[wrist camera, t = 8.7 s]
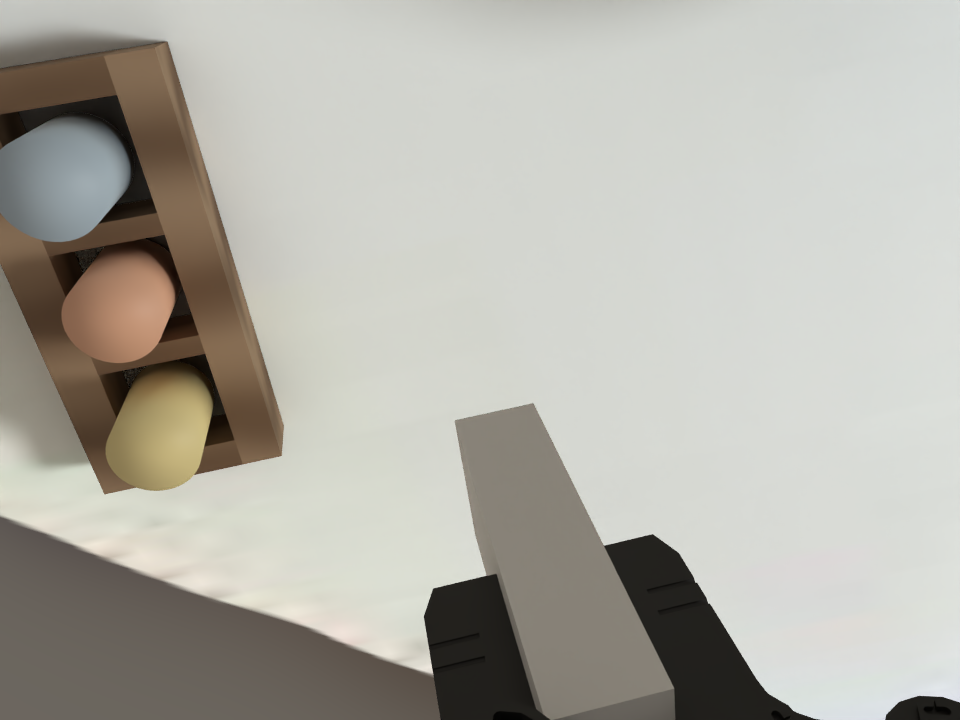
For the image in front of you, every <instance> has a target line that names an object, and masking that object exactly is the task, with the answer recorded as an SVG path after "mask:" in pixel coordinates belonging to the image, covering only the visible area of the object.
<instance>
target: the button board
mask: <svg viewBox="0 0 960 720" xmlns="http://www.w3.org/2000/svg"><path fill="white" fill-rule="evenodd" d="M113 95H117V96H118V99H119V102H120V105H121V108H122V111H123V114H124V117H125V120H126V123H127V126H128V129H129V131H130V134H131V137H132V140H133V143H134V146H135V149H136V152H137V155H138V158H139V161H140V164H141V167H142V170H143V173H144V175H145V178H146V181H147V184H148V187H149V190H150V193H151V196H152V199H146V200H141V201H135V202H130V203H124V204H119V205H114V206H113V207H112V208H111V209H110V210H109V212H108V213H107V214H106V215H105V216H104V217H103V219H102V220H101V221H100V222H99V223H98V224H97V225H96V227H95V228H94V229H93V230H91V231H90V232H89V233H88V234H86V235H84V236H82V237H80V238H78V239H75V240H71V241H65V242H50V241H44V240H40V239H37V238H34V237H31V236H29V235H27V234H25V233H23V232H21V231H20V230H18V229H17V228H15V227H14V226H13V225H11V224H10V223H9V222H8V221H7V220H6V219H5V218H4V217H3V216H2V214H1V213H0V264H1V266H2V268H3V271H4V273H5V275H6V277H7V279H8V282H9V284H10V286H11V288H12V290H13V293H14V295H15V297H16V299H17V302H18V304H19V306H20V308H21V310H22V313H23V315H24V317H25V319H26V321H27V324H28V326H29V328H30V330H31V333H32V335H33V337H34V339H35V341H36V344H37V346H38V348H39V350H40V352H41V355H42V357H43V359H44V361H45V364H46V366H47V368H48V370H49V372H50V375H51V377H52V379H53V381H54V383H55V386H56V388H57V390H58V392H59V395H60V397H61V399H62V401H63V403H64V406H65V408H66V410H67V412H68V414H69V417H70V419H71V421H72V423H73V426H74V428H75V430H76V432H77V434H78V437H79V439H80V441H81V443H82V445H83V448H84V450H85V452H86V454H87V457H88V459H89V461H90V463H91V465H92V468H93V470H94V472H95V474H96V476H97V479H98V481H99V483H100V485H101V488H102V490H103V492H104V494H108V493H113V492H118V491H122V490H127V489H131V488H136V487H134V486H132V485H130V484H128V483H126V482H125V481H123V480H122V479H120V478H119V477H118V476H117V475H116V474H115V473H114V472H113V470H112V469H111V467H110V466H109V464H108V461H107V458H106V443H107V440H108V437H109V435H110V433H111V431H112V428H113V426H114V424H115V422H116V419H117V417H118V415H119V413H120V410H121V408H122V406H123V404H124V401H125V399H126V397H127V395H128V392H129V387H128V385H127V382H126V380H125V377H124V375H123V372H122V371H123V370H128V369H133V368H137V367H142V366H147V365H152V364H157V363H162V362H167V361H172V360H177V359H182V358H187V357H192V356H197V355H202V354H206V357H207V360H208V363H209V366H210V369H211V372H212V375H213V378H214V381H215V384H216V387H217V390H218V393H219V396H220V398H221V401H222V404H223V407H224V410H225V413H226V414H223V415H218V416H213V417H211V420H210V424H209V428H208V432H207V437H206V441H205V445H204V449H203V454H202V458H201V462H200V465H199V468H198V469H197V471H196V473H195V474H194V475H196V474H200V473H205V472H210V471H214V470H219V469H223V468H228V467H233V466H237V465H242V464H246V463H251V462H256V461H260V460H265V459H269V458H274V457H279V456H282V444H283V430H284V425H283V422H282V419H281V415H280V412H279V409H278V405H277V402H276V399H275V396H274V392H273V389H272V386H271V382H270V379H269V376H268V372H267V369H266V366H265V363H264V359H263V356H262V353H261V349H260V346H259V343H258V339H257V336H256V333H255V330H254V326H253V323H252V320H251V316H250V313H249V310H248V306H247V303H246V300H245V296H244V293H243V290H242V287H241V283H240V280H239V277H238V273H237V270H236V267H235V263H234V260H233V257H232V254H231V250H230V247H229V244H228V240H227V237H226V234H225V230H224V227H223V224H222V220H221V217H220V214H219V211H218V207H217V204H216V201H215V197H214V194H213V191H212V187H211V184H210V181H209V178H208V174H207V171H206V168H205V164H204V161H203V158H202V154H201V151H200V148H199V144H198V141H197V138H196V135H195V131H194V128H193V125H192V121H191V118H190V115H189V111H188V108H187V105H186V102H185V98H184V95H183V92H182V88H181V85H180V82H179V78H178V75H177V72H176V68H175V65H174V62H173V59H172V55H171V52H170V49H169V45H168V42H161V43H155V44H149V45H143V46H136V47H130V48H124V49H118V50H112V51H106V52H99V53H93V54H87V55H81V56H75V57H69V58H63V59H56V60H50V61H44V62H38V63H32V64H26V65H19V66H13V67H7V68H1V69H0V150H1V149H2V148H3V147H4V146H5V145H7V144H8V143H10V142H12V141H14V140H15V139H17V138H19V137H21V136H22V135H24V134H26V131H25V128H24V126H23V123H22V121H21V118H20V116H19V113H18V111H24V110H30V109H36V108H42V107H48V106H54V105H59V104H65V103H71V102H77V101H83V100H89V99H95V98H101V97H107V96H113ZM160 235H165V237H166V240H167V243H168V246H169V249H170V252H171V255H172V258H173V261H174V264H175V266H176V269H177V272H178V275H179V278H180V281H181V284H182V287H183V290H184V293H185V296H186V299H187V302H188V305H189V308H190V310H191V313H192V314H188V315H183V316H178V317H173V318H169V320H168V322H167V324H166V327H165V329H164V331H163V334H162V336H161V339H160V340H159V342H158V344H157V345H156V347H155V348H154V349H153V350H152V351H151V352H150V353H148V354H147V355H146V356H144V357H142V358H140V359H138V360H135V361H131V362H126V363H110V362H105V361H101V360H98V359H95V358H93V357H91V356H89V355H87V354H85V353H84V352H82V351H81V350H80V349H79V348H77V347H76V346H75V345H74V344H73V342H72V341H71V340H70V339H69V337H68V336H67V334H66V332H65V330H64V327H63V323H62V315H61V313H62V306H63V303H64V300H65V298H66V296H67V295H68V294H69V292H70V291H71V290H72V288H73V287H74V286H75V284H76V283H77V282H78V280H79V279H80V278H81V276H82V275H83V272H82V270H81V268H80V265H79V263H78V260H77V258H76V255H75V253H74V252H75V251H80V250H85V249H91V248H96V247H101V246H107V245H112V244H118V243H123V242H128V241H134V240H139V239H144V238H150V237H155V236H160Z"/></svg>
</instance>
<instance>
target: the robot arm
mask: <svg viewBox="0 0 960 720" xmlns="http://www.w3.org/2000/svg"><path fill="white" fill-rule="evenodd" d="M455 425H456V430H457V436H458V441H459V447H460V452H461V458H462V463H463V469H464V475H465V480H466V486H467V491H468V497H469V502H470V508H471V513H472V519H473V524H474V530H475V535H476V539H477V542H478V546H479V550H480V553H481V557H482V560H483V564H484V568H485V571H486V575H487V576H484V577H480V578H476V579H472V580H467V581H463V582H459V583H455V584H451V585H446V586H442V587H438V588H434V589H433V591H432V594H431V597H430V600H429V603H428V606H427V609H426V612H425V615H424V620H425V626H426V632H427V638H428V644H429V650H430V657H431V663H432V669H433V674H434V681H435V687H436V694H437V699H438V705H439V711H440V718H441V720H818V719H813V718H810V717H807V716H805V715H802V714H799V713H796V712H794V711H793V710H792V709H791V708H790V707H789V706H788V705H786V704H785V703H783V702H781V701H779V700H778V699H776V698H774V697H772V696H771V695H769V694H768V693H767V692H766V691H765V690H764V688H763V687H762V686H761V685H760V683H759V682H758V681H757V679H756V678H755V676H754V675H753V673H752V671H751V670H750V668H749V666H748V665H747V663H746V662H745V660H744V658H743V657H742V655H741V653H740V652H739V650H738V649H737V647H736V645H735V644H734V642H733V640H732V639H731V637H730V636H729V634H728V632H727V631H726V629H725V627H724V626H723V624H722V623H721V621H720V619H719V618H718V616H717V614H716V613H715V611H714V610H713V608H712V606H711V605H710V604H708V602H707V598H706V597H705V595H704V593H703V592H702V590H701V588H700V587H699V585H698V584H697V583H695V581H694V577H693V575H692V574H691V572H690V571H689V569H688V567H687V566H686V564H685V562H684V561H683V559H682V558H681V556H680V554H679V553H678V552H677V551H675V550H674V549H672V548H671V547H670V546H668V545H667V544H665V543H664V542H663V541H661V540H660V539H659V538H657V537H656V536H654V535H653V534H652V535H648V536H644V537H639V538H635V539H631V540H627V541H623V542H618V543H614V544H610V545H606V546H604V545H603V543H602V541H601V539H600V537H599V535H598V533H597V531H596V529H595V527H594V525H593V523H592V521H591V519H590V517H589V515H588V513H587V511H586V509H585V507H584V505H583V503H582V501H581V499H580V497H579V495H578V493H577V491H576V489H575V487H574V485H573V483H572V480H571V478H570V476H569V474H568V472H567V470H566V468H565V466H564V464H563V462H562V460H561V458H560V456H559V454H558V452H557V450H556V448H555V446H554V444H553V442H552V440H551V438H550V436H549V434H548V432H547V430H546V428H545V426H544V424H543V422H542V420H541V418H540V416H539V414H538V412H537V410H536V408H535V406H534V404H528V405H523V406H519V407H514V408H510V409H505V410H500V411H496V412H491V413H487V414H482V415H477V416H473V417H468V418H464V419H459V420H455ZM885 720H960V703H959V702H956V701H953V700H950V699H947V698H944V697H930V696H917V697H914V698H911V699H907V700H904V701H901V702H899V703H898V704H897V705H896V706H895V707H894V708H893V709H892V710H891V711H890V712H889V713H888V714H887V715H886V719H885Z"/></svg>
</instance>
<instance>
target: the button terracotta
mask: <svg viewBox="0 0 960 720" xmlns="http://www.w3.org/2000/svg"><path fill="white" fill-rule="evenodd" d="M181 286H182V284H181V281H180V278H179V275H178V272H177V269H176V266H175V264H174V261H173V258H172V255H171V254H170V253H169V252H168V251H167V250H166V249H165V248H163V247H162V246H160V245H159V244H157V243H155V242H153V241H150V240H147V239H139V240H134V241H128V242H123V243H118V244H112V245H107V246H106V247H104V248H103V249H102V251H101V252H100V253H99V254H98V256H97V257H96V258H95V259H94V261H93V262H92V263H91V265H90V266H89V267H88V269H87V270H86V271H85V273H84V274H83V275H82V276H81V278H80V279H79V280H78V282H77V283H76V284H75V286H74V287H73V288H72V290H71V291H70V292H69V294H68V295H67V296H66V298H65V300H64V303H63V306H62V313H61V315H62V323H63V327H64V330H65V332H66V334H67V336H68V337H69V339H70V340H71V341H72V342H73V344H74V345H75V346H76V347H77V348H79V349H80V350H81V351H82V352H84V353H85V354H87V355H89V356H91V357H93V358H95V359H98V360H101V361H105V362H110V363H126V362H131V361H135V360H138V359H140V358H142V357H144V356H146V355H147V354H148V353H150V352H151V351H152V350H153V349H154V348H155V347H156V345H157V344H158V342H159V340H160V339H161V336H162V334H163V331H164V329H165V327H166V324H167V322H168V320H169V317H170V315H171V313H172V310H173V308H174V305H175V303H176V301H177V298H178V296H179V294H180V291H181Z"/></svg>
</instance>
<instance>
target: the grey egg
mask: <svg viewBox="0 0 960 720" xmlns="http://www.w3.org/2000/svg"><path fill="white" fill-rule="evenodd" d="M134 171H135V163H134V157H133V153H132V150H131V148H130V145H129V144H128V142H127V140H126V139H125V137H124V136H123V135H122V134H121V132H120V131H119V130H118V129H117V128H115V127H114V126H113V125H112V124H110V123H109V122H107V121H106V120H104V119H102V118H100V117H97V116H95V115H92V114H88V113H82V112H71V113H65V114H61V115H58V116H56V117H54V118H52V119H51V120H49V121H47V122H45V123H44V124H42V125H40V126H38V127H37V128H35V129H33V130H31V131H29V132H28V133H26V134H24V135H22V136H21V137H19V138H17V139H15V140H14V141H12V142H10V143H8V144H7V145H5V146H4V147H3V148H2V149H1V150H0V213H1V214H2V216H3V217H4V218H5V219H6V220H7V221H8V222H9V223H10V224H11V225H13V226H14V227H15V228H17V229H18V230H20V231H21V232H23V233H25V234H27V235H29V236H31V237H34V238H37V239H40V240H44V241H50V242H65V241H71V240H75V239H78V238H80V237H82V236H84V235H86V234H88V233H89V232H90V231H91V230H93V229H94V228H95V227H96V225H97V224H98V223H99V222H100V221H101V220H102V219H103V217H104V216H105V215H106V214H107V213H108V212H109V210H110V209H111V208H112V207H113V206H114V205H115V203H116V202H117V201H118V200H119V199H120V198H121V196H122V195H123V194H124V193H125V192H126V191H127V189H128V188H129V186H130V184H131V182H132V180H133V176H134Z"/></svg>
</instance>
